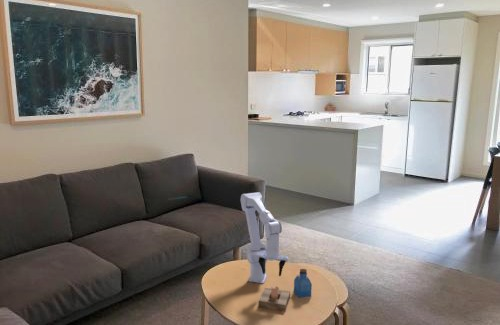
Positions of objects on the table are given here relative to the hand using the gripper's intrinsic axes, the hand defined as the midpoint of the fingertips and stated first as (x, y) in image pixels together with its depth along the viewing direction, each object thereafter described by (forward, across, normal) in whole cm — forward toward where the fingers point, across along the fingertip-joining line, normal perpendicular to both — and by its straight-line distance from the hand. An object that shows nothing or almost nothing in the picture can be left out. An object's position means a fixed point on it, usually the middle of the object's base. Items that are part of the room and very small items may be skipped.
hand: (272, 274), depth 186 cm
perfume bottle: (+10, +14, +4) cm, 18 cm away
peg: (+10, +3, -7) cm, 13 cm away
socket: (+10, +3, -7) cm, 12 cm away
